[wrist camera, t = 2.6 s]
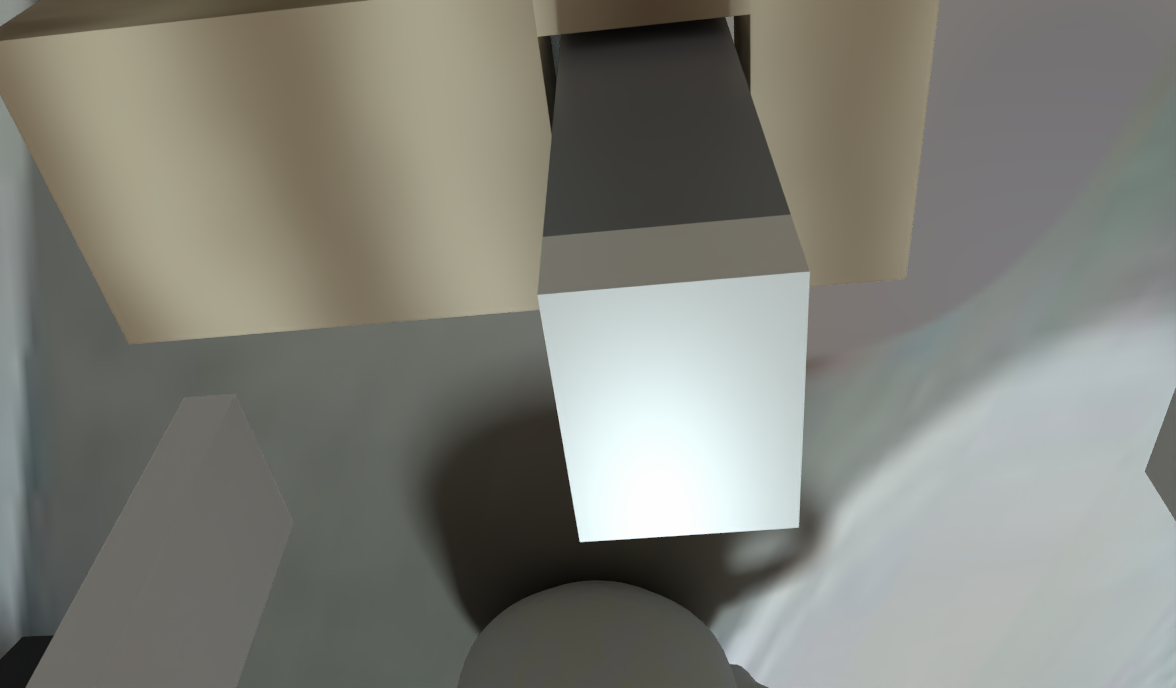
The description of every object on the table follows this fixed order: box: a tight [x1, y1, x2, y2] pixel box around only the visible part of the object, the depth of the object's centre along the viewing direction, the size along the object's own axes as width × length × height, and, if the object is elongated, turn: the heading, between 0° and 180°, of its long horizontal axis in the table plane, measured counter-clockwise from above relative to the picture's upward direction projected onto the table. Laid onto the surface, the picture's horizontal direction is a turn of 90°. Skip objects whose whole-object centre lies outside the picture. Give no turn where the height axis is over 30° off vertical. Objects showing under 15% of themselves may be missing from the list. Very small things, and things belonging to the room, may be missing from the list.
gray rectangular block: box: [537, 17, 810, 542], centre depth 19 cm, size 4×5×12 cm
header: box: [0, 0, 939, 344], centre depth 22 cm, size 20×8×3 cm, turn 96°
